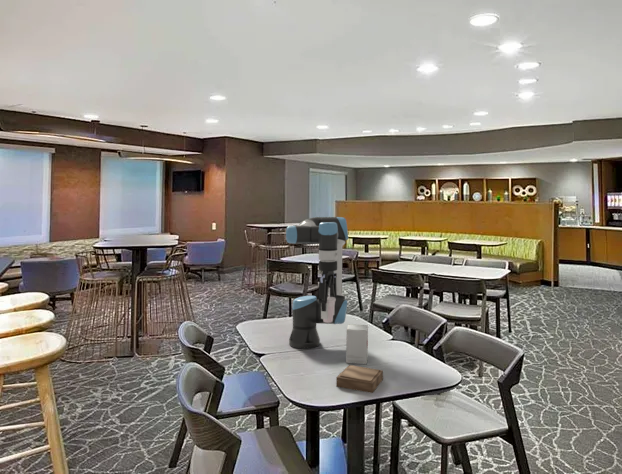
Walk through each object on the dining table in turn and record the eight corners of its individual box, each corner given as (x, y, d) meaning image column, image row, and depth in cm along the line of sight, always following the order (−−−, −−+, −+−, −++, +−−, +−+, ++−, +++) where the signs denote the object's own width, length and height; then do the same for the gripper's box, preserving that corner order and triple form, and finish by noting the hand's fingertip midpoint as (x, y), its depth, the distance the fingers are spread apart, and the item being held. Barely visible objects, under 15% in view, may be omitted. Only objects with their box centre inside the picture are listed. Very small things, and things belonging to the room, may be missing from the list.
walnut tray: (349, 373, 176) (349, 363, 176) (382, 379, 170) (383, 369, 170) (336, 386, 163) (336, 376, 163) (372, 393, 157) (372, 382, 157)
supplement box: (366, 364, 186) (367, 330, 185) (345, 363, 188) (346, 329, 187) (368, 357, 195) (368, 324, 194) (348, 356, 197) (348, 323, 196)
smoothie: (330, 324, 173) (331, 289, 172) (317, 322, 177) (317, 288, 176) (338, 320, 179) (338, 287, 178) (325, 318, 182) (325, 285, 181)
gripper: (327, 264, 166) (327, 323, 167) (345, 258, 183) (344, 312, 185) (309, 262, 169) (309, 321, 170) (328, 257, 186) (328, 310, 188)
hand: (327, 316), depth 178 cm, fingers closed on smoothie, 6 cm apart
